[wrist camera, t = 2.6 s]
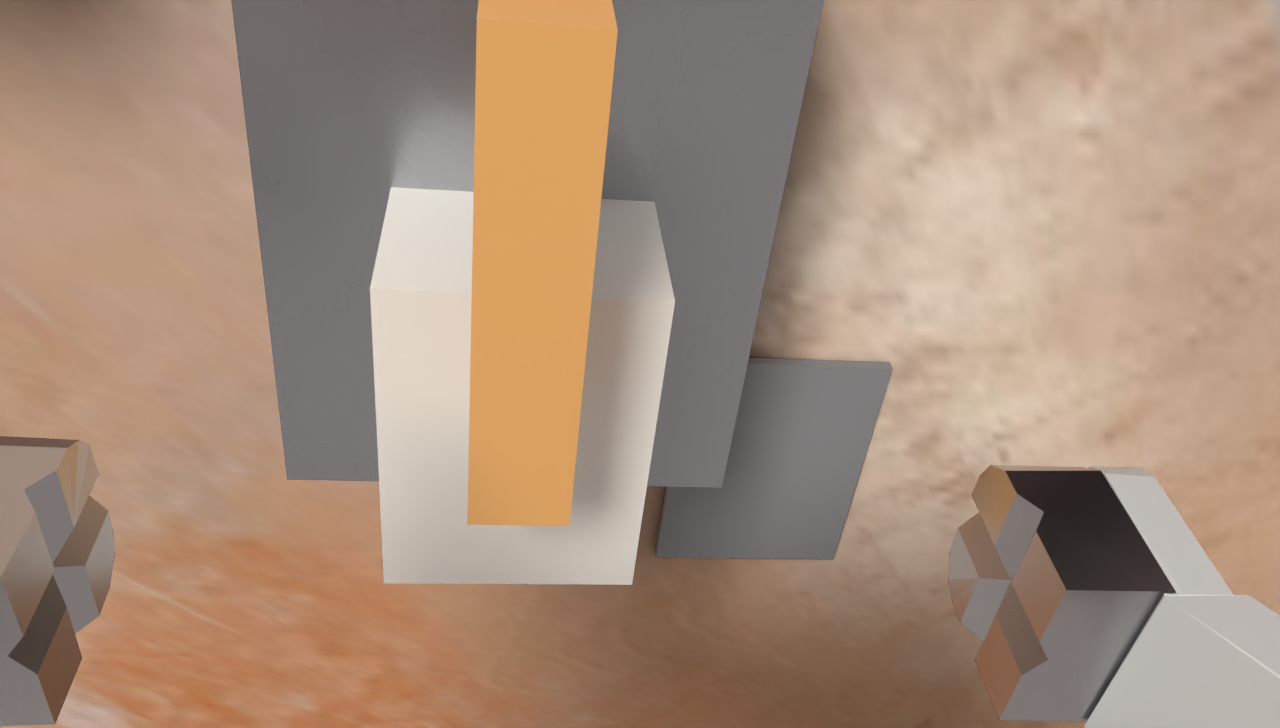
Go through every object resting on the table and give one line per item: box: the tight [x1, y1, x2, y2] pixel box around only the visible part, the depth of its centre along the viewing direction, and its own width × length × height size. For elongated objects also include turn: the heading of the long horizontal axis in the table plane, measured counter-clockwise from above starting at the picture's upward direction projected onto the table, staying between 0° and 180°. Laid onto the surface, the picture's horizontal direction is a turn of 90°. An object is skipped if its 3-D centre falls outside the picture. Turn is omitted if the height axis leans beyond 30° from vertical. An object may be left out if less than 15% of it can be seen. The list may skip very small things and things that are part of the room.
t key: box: [467, 0, 618, 526], centre depth 17 cm, size 8×2×6 cm, turn 174°
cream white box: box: [370, 187, 675, 585], centre depth 21 cm, size 7×5×4 cm
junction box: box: [231, 0, 823, 488], centre depth 23 cm, size 13×10×6 cm
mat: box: [655, 358, 892, 560], centre depth 33 cm, size 8×6×1 cm
